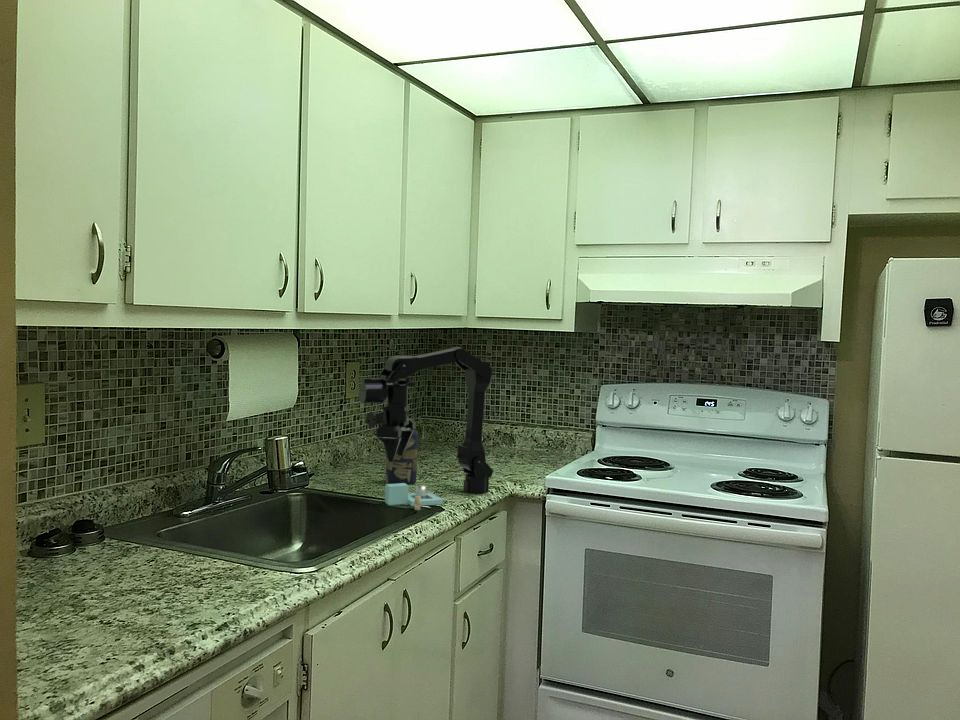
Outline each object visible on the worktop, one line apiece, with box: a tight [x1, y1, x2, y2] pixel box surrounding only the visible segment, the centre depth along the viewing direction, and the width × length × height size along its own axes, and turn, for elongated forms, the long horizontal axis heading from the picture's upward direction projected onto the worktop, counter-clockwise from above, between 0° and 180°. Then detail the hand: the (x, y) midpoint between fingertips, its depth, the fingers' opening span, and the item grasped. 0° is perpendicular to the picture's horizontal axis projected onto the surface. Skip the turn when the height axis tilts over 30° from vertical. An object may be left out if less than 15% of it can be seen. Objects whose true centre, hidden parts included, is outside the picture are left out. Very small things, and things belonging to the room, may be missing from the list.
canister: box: [385, 428, 419, 486], centre depth 235 cm, size 10×10×18 cm
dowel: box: [414, 496, 422, 511], centre depth 202 cm, size 2×2×4 cm
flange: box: [384, 483, 444, 507], centre depth 209 cm, size 14×9×5 cm, turn 117°
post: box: [415, 484, 428, 499], centre depth 210 cm, size 3×3×4 cm
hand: (395, 458), depth 212 cm, fingers open, 9 cm apart
